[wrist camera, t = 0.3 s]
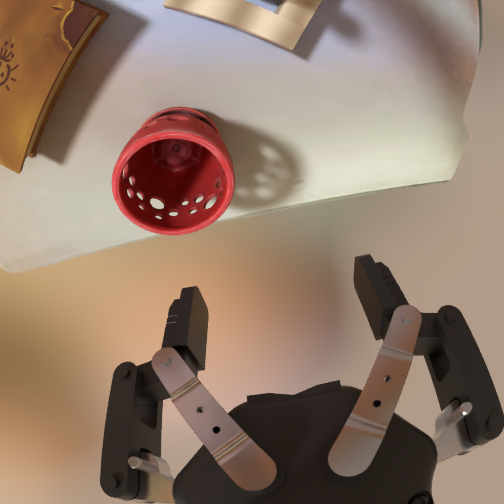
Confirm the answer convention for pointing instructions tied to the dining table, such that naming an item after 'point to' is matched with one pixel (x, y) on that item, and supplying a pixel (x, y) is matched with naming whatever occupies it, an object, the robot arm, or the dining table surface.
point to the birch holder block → (255, 17)
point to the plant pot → (174, 172)
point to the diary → (37, 66)
